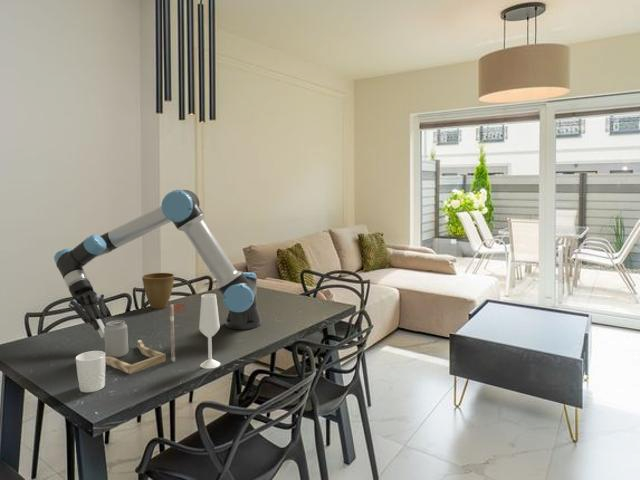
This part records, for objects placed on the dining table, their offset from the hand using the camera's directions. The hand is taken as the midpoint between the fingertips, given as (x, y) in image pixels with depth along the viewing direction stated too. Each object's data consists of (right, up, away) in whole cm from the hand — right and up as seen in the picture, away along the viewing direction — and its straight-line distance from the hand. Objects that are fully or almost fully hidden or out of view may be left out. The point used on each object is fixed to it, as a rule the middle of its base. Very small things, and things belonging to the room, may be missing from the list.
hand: (104, 335), depth 163 cm
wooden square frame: (+15, -7, -8) cm, 19 cm away
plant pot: (-1, +1, +58) cm, 59 cm away
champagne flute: (+41, -8, -11) cm, 44 cm away
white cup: (+10, -10, -29) cm, 32 cm away
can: (+6, -6, -4) cm, 10 cm away
